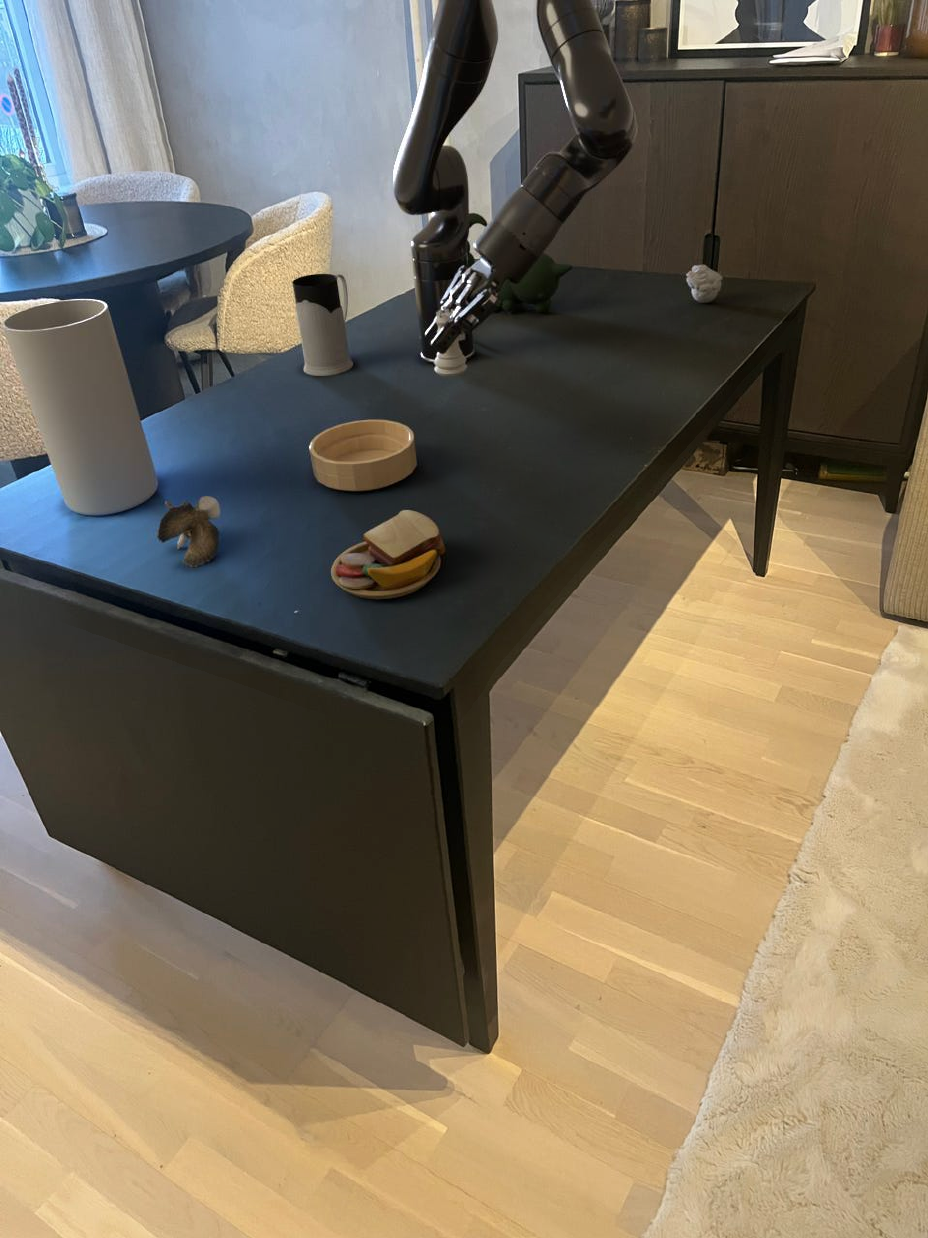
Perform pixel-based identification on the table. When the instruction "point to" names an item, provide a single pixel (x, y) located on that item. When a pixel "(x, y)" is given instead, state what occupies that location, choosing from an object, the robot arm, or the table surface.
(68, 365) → the cylinder vase
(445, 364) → the rook chess piece
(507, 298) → the toy figurine
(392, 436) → the bowl
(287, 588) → the table surface
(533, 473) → the table surface
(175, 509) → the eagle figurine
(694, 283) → the white lumpy rounded piece
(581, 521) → the table surface
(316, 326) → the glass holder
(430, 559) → the toy sandwich meal
